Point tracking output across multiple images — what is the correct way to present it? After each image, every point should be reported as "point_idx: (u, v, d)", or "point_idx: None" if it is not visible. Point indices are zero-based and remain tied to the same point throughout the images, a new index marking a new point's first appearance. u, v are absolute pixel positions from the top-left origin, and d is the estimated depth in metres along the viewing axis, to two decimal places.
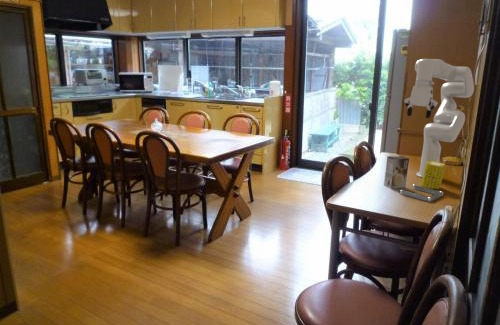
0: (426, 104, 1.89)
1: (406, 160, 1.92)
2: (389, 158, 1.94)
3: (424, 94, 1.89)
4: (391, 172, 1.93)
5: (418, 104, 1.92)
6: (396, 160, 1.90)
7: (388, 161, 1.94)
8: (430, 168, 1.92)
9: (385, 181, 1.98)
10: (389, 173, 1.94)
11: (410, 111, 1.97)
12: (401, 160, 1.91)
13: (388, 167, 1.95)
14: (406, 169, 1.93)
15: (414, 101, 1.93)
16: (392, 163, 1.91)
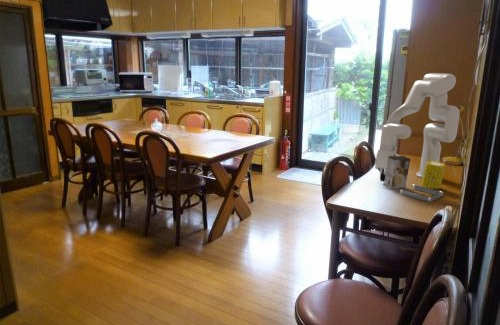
0: None
1: (407, 160, 1.91)
2: (390, 158, 1.93)
3: (387, 158, 1.96)
4: (392, 172, 1.92)
5: (382, 167, 1.99)
6: (397, 161, 1.89)
7: (389, 161, 1.94)
8: (430, 168, 1.92)
9: (385, 181, 1.97)
10: (390, 173, 1.94)
11: None
12: (402, 161, 1.90)
13: (389, 167, 1.94)
14: (407, 169, 1.93)
15: (379, 164, 2.00)
16: (393, 163, 1.91)
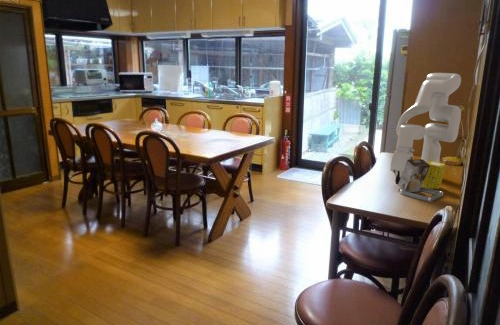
0: None
1: (427, 167, 1.82)
2: (409, 163, 1.83)
3: (404, 160, 1.88)
4: (408, 177, 1.84)
5: (398, 169, 1.91)
6: (416, 167, 1.80)
7: (407, 165, 1.84)
8: (430, 168, 1.92)
9: (400, 183, 1.91)
10: (406, 177, 1.86)
11: None
12: (421, 167, 1.81)
13: (406, 171, 1.85)
14: (424, 175, 1.84)
15: (394, 166, 1.92)
16: (411, 169, 1.82)
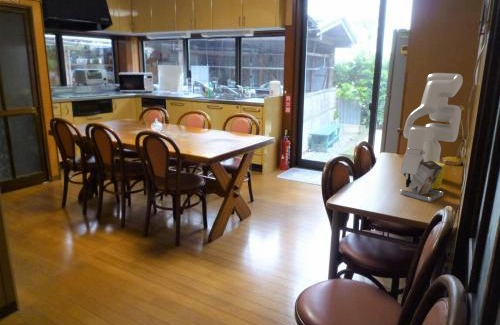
0: None
1: (439, 169, 1.80)
2: (424, 165, 1.79)
3: (415, 163, 1.84)
4: (422, 180, 1.80)
5: (409, 172, 1.87)
6: (432, 170, 1.76)
7: (421, 168, 1.80)
8: None
9: (411, 186, 1.86)
10: (419, 180, 1.81)
11: None
12: (436, 170, 1.78)
13: (420, 174, 1.81)
14: (436, 177, 1.82)
15: (405, 169, 1.88)
16: (427, 172, 1.78)
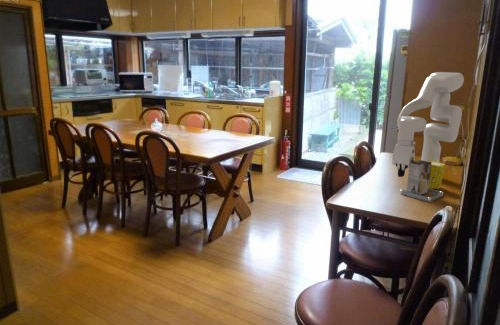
0: (408, 163, 1.89)
1: (429, 164, 1.84)
2: (413, 163, 1.83)
3: (405, 153, 1.89)
4: (417, 178, 1.82)
5: (400, 162, 1.92)
6: (422, 165, 1.81)
7: (411, 167, 1.84)
8: None
9: (408, 188, 1.87)
10: (414, 179, 1.84)
11: None
12: (425, 165, 1.82)
13: (412, 173, 1.84)
14: (429, 173, 1.85)
15: (396, 159, 1.93)
16: (417, 168, 1.81)
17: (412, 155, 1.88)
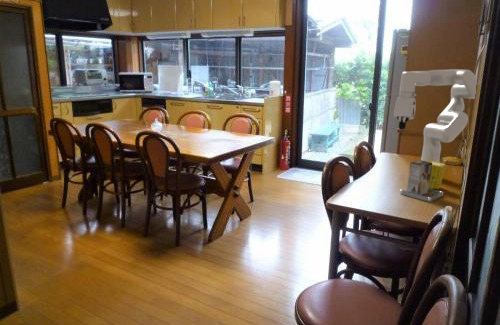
0: (409, 115, 1.96)
1: (430, 165, 1.84)
2: (413, 164, 1.83)
3: (407, 105, 1.96)
4: (417, 178, 1.82)
5: (401, 115, 1.99)
6: (423, 166, 1.80)
7: (412, 167, 1.84)
8: None
9: (408, 188, 1.87)
10: (414, 180, 1.84)
11: None
12: (426, 165, 1.82)
13: (413, 173, 1.84)
14: (429, 174, 1.85)
15: (398, 112, 2.00)
16: (418, 169, 1.81)
17: (413, 107, 1.96)
